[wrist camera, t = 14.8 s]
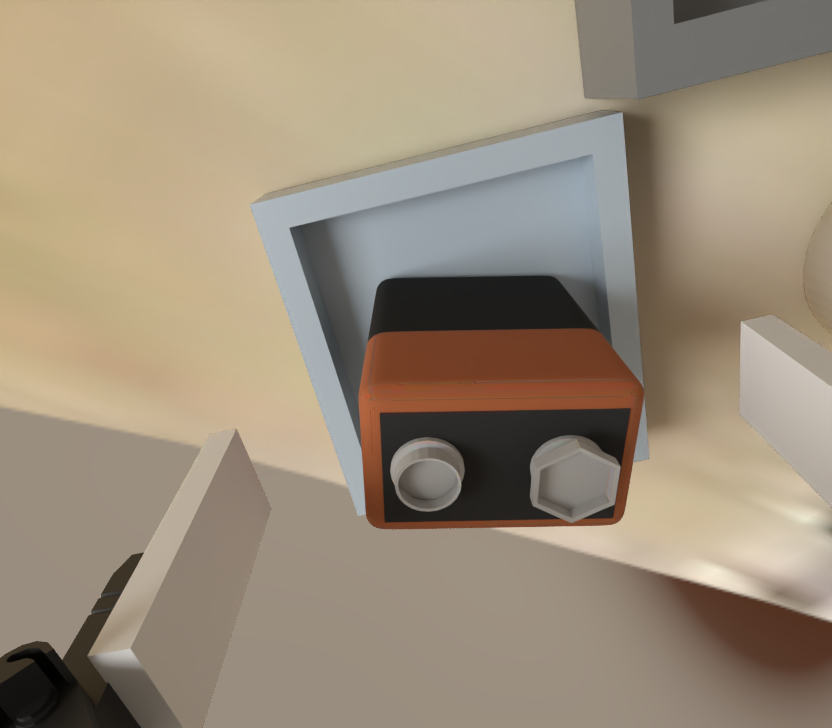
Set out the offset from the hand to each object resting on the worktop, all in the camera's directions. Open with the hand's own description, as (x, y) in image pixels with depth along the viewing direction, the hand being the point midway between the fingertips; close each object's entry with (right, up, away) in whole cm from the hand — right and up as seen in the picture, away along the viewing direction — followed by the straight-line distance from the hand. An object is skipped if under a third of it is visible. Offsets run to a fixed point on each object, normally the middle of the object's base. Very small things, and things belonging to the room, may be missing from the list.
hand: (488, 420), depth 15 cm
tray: (0, +3, +8) cm, 8 cm away
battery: (0, +3, +7) cm, 8 cm away
